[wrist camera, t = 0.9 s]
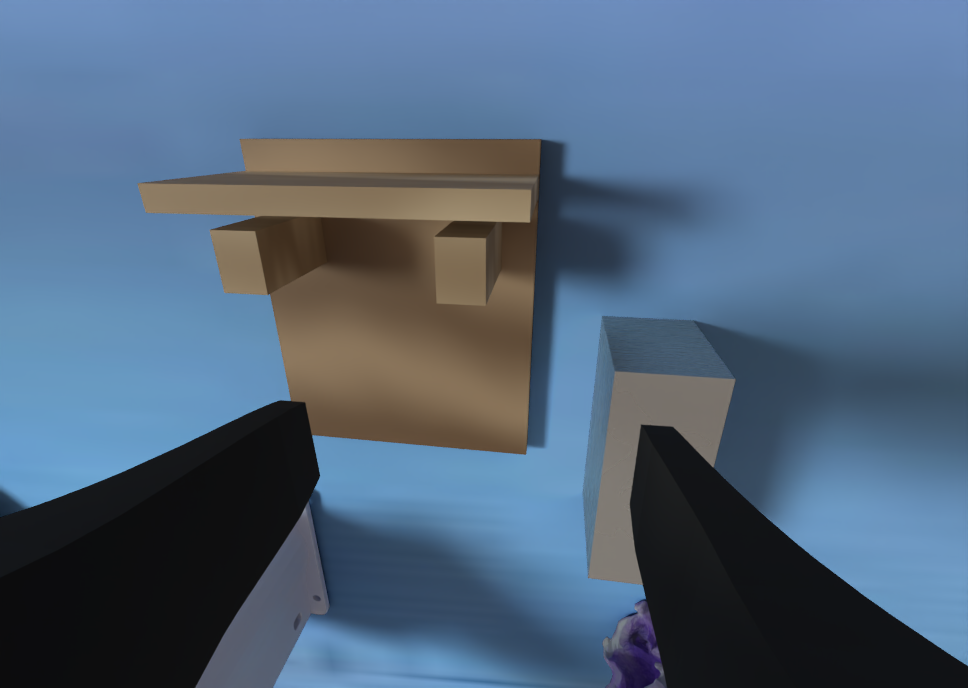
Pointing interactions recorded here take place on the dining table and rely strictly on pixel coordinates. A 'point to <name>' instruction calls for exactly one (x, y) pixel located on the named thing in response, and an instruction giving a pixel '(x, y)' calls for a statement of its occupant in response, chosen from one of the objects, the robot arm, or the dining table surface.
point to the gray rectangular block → (644, 422)
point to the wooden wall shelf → (387, 278)
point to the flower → (634, 652)
